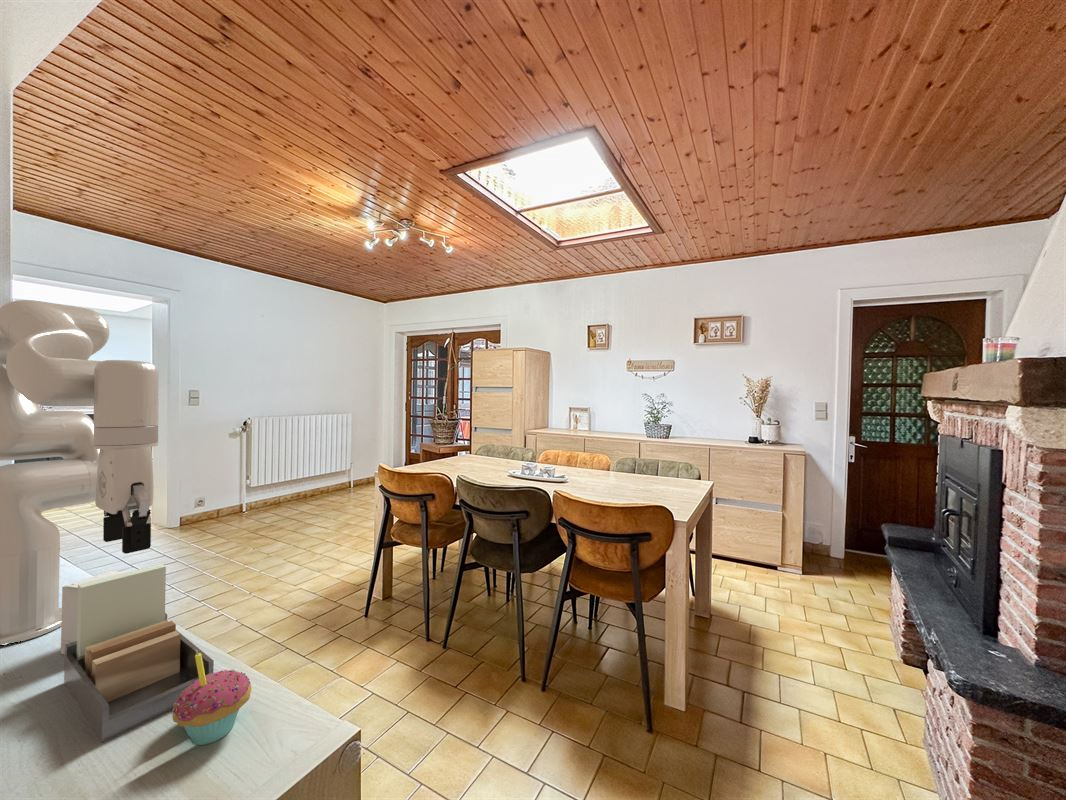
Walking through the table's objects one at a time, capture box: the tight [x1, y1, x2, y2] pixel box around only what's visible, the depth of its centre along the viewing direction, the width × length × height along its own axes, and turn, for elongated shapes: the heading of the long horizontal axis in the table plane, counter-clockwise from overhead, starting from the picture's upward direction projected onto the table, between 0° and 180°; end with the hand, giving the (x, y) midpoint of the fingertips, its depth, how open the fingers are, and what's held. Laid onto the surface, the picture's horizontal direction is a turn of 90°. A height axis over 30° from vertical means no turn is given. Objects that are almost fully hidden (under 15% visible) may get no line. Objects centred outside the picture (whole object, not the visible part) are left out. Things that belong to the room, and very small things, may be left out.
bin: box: [63, 612, 215, 744], centre depth 65 cm, size 20×12×7 cm, turn 57°
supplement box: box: [60, 570, 127, 655], centre depth 75 cm, size 7×7×13 cm
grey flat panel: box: [77, 563, 167, 658], centre depth 69 cm, size 2×10×15 cm, turn 147°
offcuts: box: [85, 619, 180, 702], centre depth 66 cm, size 6×10×7 cm, turn 147°
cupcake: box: [172, 650, 252, 746], centre depth 58 cm, size 9×8×12 cm
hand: (126, 545), depth 69 cm, fingers open, 9 cm apart
